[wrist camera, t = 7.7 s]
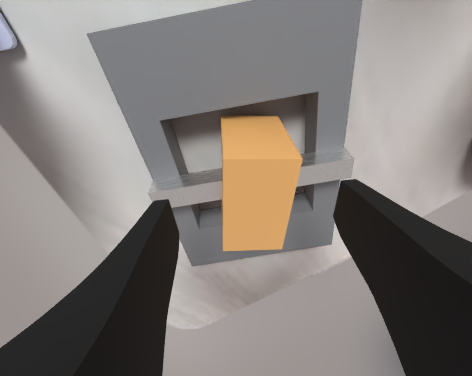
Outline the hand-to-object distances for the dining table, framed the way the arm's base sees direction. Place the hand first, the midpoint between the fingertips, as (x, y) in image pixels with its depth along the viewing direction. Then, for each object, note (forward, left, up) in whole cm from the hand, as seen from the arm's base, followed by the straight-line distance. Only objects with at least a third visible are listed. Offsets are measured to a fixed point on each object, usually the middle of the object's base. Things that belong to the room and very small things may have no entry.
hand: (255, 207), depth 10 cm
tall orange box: (0, -3, -9) cm, 9 cm away
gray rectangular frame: (0, -3, -10) cm, 10 cm away
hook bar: (0, -3, -7) cm, 8 cm away
